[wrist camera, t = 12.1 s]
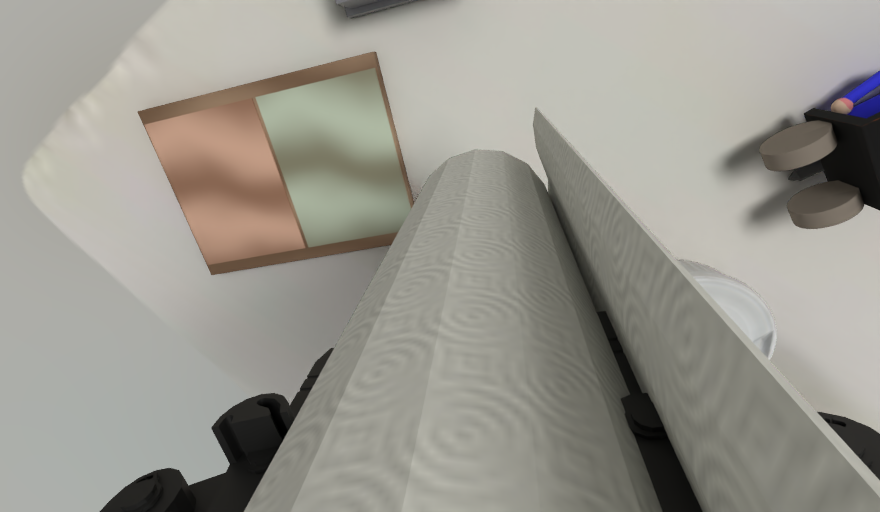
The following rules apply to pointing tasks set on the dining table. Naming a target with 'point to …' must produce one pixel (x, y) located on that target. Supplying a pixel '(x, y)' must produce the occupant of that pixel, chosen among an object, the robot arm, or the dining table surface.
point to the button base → (368, 6)
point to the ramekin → (738, 304)
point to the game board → (286, 165)
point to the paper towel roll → (545, 368)
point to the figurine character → (832, 159)
